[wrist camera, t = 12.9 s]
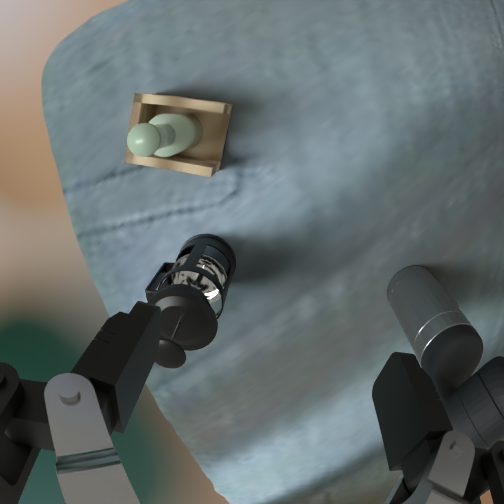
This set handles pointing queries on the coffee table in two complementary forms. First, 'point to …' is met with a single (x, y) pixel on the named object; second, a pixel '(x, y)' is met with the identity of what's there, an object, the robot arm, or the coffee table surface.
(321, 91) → the coffee table surface
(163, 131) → the pale green pin
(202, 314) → the french press
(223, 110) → the u rest
